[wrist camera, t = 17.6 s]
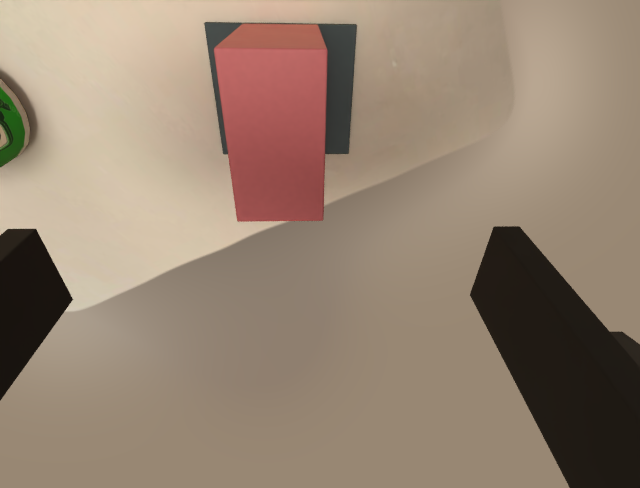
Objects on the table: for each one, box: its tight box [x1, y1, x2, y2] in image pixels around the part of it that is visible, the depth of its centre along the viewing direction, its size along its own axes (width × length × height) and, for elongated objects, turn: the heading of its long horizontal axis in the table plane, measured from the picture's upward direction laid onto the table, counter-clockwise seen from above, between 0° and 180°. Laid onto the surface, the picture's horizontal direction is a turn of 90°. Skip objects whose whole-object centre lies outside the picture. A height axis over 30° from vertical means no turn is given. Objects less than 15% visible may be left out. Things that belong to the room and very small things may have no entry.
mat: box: [204, 22, 357, 154], centre depth 27 cm, size 10×9×1 cm
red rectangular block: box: [214, 24, 328, 221], centre depth 23 cm, size 5×9×10 cm, turn 179°
